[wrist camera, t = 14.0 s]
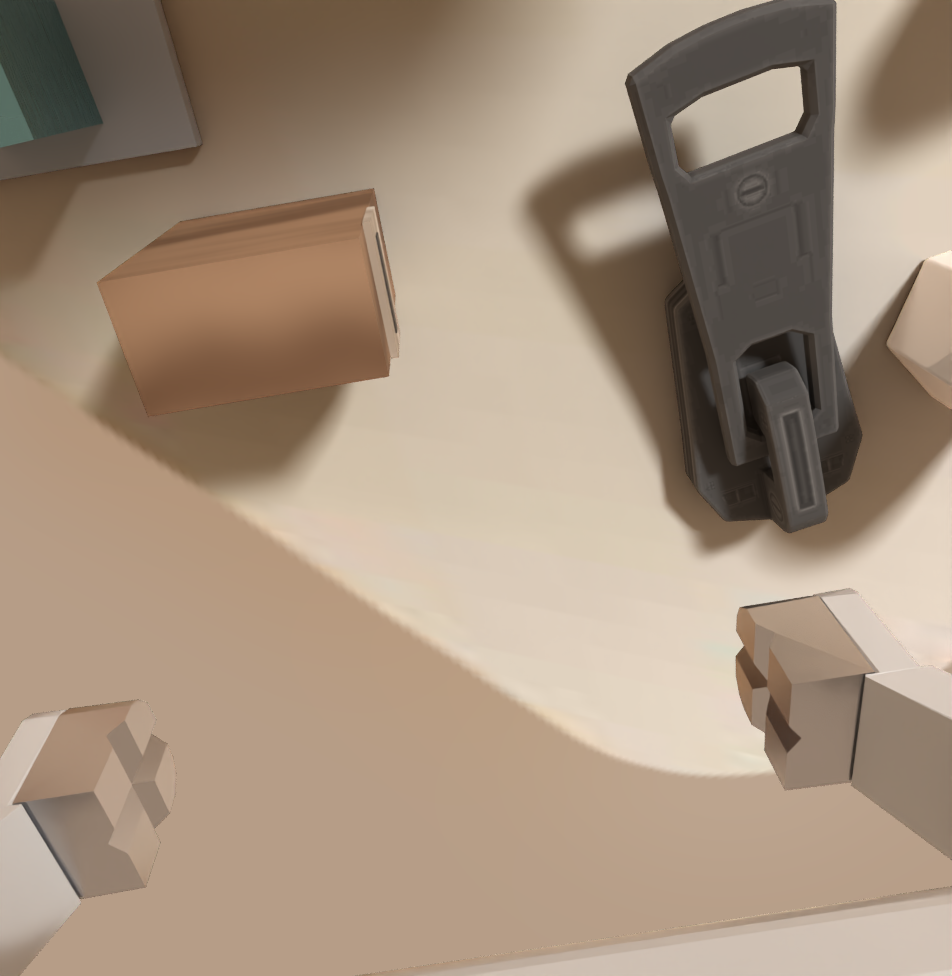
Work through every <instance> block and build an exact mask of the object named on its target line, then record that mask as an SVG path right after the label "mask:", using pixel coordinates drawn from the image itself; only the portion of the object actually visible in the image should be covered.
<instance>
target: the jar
mask: <svg viewBox="0 0 952 976" xmlns="http://www.w3.org/2000/svg"><path fill="white" fill-rule="evenodd" d="M886 345H887V347H888V348H889V349H890V350H891V352H892V353H893V354H894V355H895V356H896V357H897V358H898V359H899V361H900V362H901V363H902V364H903V365H904V366H905V367H906V368H907V370H908V371H909V372H910V373H911V374H912V375H913V376H914V377H915V379H916V380H917V381H918V382H919V383H920V384H921V385H922V387H923V388H924V389H925V390H926V391H927V392H928V393H929V395H930V396H931V397H933V398H934V399H936V400H937V401H939V402H940V403H942V404H943V405H945V406H946V407H948V408H949V409H951V410H952V250H950V251H947V252H944V253H941V254H938V255H935V256H932V257H929V258H927V259H926V260H925V261H924V263H923V265H922V267H921V269H920V272H919V274H918V276H917V278H916V280H915V282H914V285H913V287H912V289H911V291H910V293H909V295H908V298H907V300H906V302H905V304H904V306H903V308H902V310H901V313H900V315H899V317H898V319H897V321H896V323H895V325H894V328H893V330H892V332H891V334H890V336H889V338H888V340H887V344H886Z"/></svg>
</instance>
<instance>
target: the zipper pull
mask: <svg viewBox="0 0 952 976" xmlns="http://www.w3.org/2000/svg"><path fill="white" fill-rule="evenodd" d="M795 66H799V67H800V71H801V83H802V95H803V107H804V113H803V115H802V117H801V119H800V121H799V123H798V125H797V127H796V130H795V131H794V132H791V133H789V134H786V135H784V136H781V137H779V138H776V139H773V140H771V141H768V142H766V143H763V144H760V145H758V146H755V147H753V148H750V149H748V150H745V151H742V152H740V153H737V154H735V155H732V156H729V157H727V158H724V159H722V160H719V161H717V162H714V163H711V164H709V165H706V166H704V167H701V168H698V169H696V170H693V171H691V172H688V173H686V172H685V171H684V170H683V169H681V168H680V167H679V166H678V160H677V155H676V150H675V144H674V139H673V134H672V128H671V123H672V121H673V118H674V116H675V115H677V114H678V113H679V112H681V111H682V110H684V109H685V108H687V107H688V106H690V105H691V104H692V103H694V102H695V101H697V100H698V99H700V98H701V97H703V96H706V95H708V94H711V93H713V92H716V91H718V90H721V89H723V88H726V87H728V86H731V85H733V84H736V83H738V82H741V81H743V80H746V79H749V78H751V77H754V76H756V75H759V74H761V73H764V72H766V71H769V70H771V69H778V68H786V67H795ZM625 85H626V88H627V92H628V95H629V99H630V102H631V105H632V109H633V112H634V116H635V119H636V123H637V126H638V130H639V133H640V136H641V140H642V143H643V147H644V150H645V154H646V157H647V161H648V164H649V168H650V171H651V174H652V177H653V180H654V183H655V186H656V188H657V191H658V195H659V198H660V201H661V205H662V208H663V212H664V215H665V218H666V222H667V225H668V229H669V232H670V235H671V239H672V242H673V246H674V249H675V252H676V256H677V259H678V262H679V266H680V269H681V273H682V276H683V279H684V280H683V281H682V282H681V283H680V284H679V285H678V286H677V287H676V288H675V289H674V290H673V291H672V292H671V293H670V294H669V295H668V296H667V298H666V299H665V310H666V318H667V325H668V333H669V340H670V348H671V355H672V363H673V370H674V378H675V385H676V393H677V400H678V408H679V415H680V423H681V431H682V440H683V450H684V459H685V468H686V473H687V475H688V477H689V478H690V480H691V481H692V483H693V484H694V486H695V488H696V489H697V491H698V492H699V494H700V495H701V496H702V497H703V498H704V499H705V500H706V501H707V502H708V503H709V504H710V506H711V507H712V508H713V509H714V510H715V511H716V512H717V513H718V514H719V515H720V516H721V518H722V519H723V520H725V521H746V520H764V519H771V520H773V521H774V522H775V523H776V524H777V525H778V526H780V527H781V528H782V529H783V530H784V531H785V532H787V533H792V532H795V531H798V530H801V529H804V528H807V527H810V526H813V525H816V524H819V523H822V522H824V521H826V519H827V516H828V507H827V500H826V495H827V494H829V493H830V492H832V491H833V490H835V489H836V488H838V487H839V486H841V485H843V484H844V483H846V482H847V481H848V480H849V479H850V475H851V472H852V469H853V466H854V462H855V459H856V456H857V452H858V449H859V446H860V442H861V439H862V431H861V428H860V425H859V421H858V418H857V415H856V411H855V408H854V405H853V401H852V398H851V395H850V391H849V388H848V384H847V381H846V377H845V373H844V370H843V366H842V363H841V359H840V355H839V352H838V348H837V345H836V341H835V337H834V334H833V326H832V264H833V186H834V124H835V106H836V2H835V1H834V0H773V1H770V2H766V3H763V4H759V5H756V6H752V7H749V8H745V9H742V10H739V11H737V12H734V13H732V14H729V15H727V16H724V17H722V18H719V19H717V20H715V21H712V22H710V23H707V24H705V25H702V26H700V27H699V28H697V29H695V30H693V31H691V32H689V33H687V34H685V35H684V36H682V37H680V38H678V39H676V40H674V41H672V42H670V43H668V44H667V45H666V46H664V47H663V48H662V49H660V50H659V51H658V52H656V53H655V54H654V55H652V56H651V57H650V58H648V59H647V60H646V61H645V62H643V63H642V64H641V65H639V66H638V67H637V68H635V69H634V70H633V71H631V72H630V73H629V74H628V76H627V79H626V82H625Z"/></svg>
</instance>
